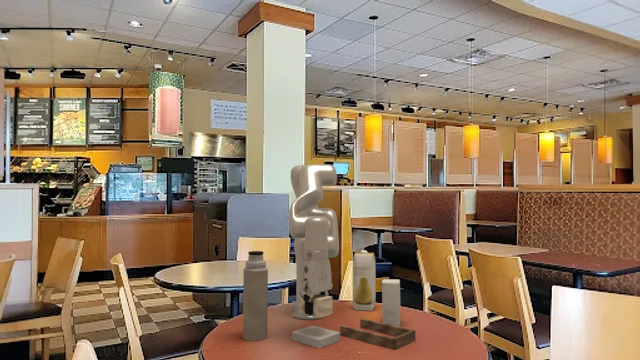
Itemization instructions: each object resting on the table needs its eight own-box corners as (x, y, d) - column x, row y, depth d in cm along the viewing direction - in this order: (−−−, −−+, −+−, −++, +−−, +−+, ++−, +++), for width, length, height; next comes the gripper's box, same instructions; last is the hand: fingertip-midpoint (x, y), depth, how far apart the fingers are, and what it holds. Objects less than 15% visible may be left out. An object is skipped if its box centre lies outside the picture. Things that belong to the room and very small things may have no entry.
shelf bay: (340, 335, 148) (340, 325, 148) (362, 326, 157) (362, 318, 157) (394, 349, 134) (394, 339, 134) (415, 339, 143) (415, 330, 143)
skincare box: (400, 327, 156) (400, 283, 157) (381, 326, 157) (381, 282, 158) (400, 321, 164) (400, 278, 165) (382, 320, 166) (382, 278, 166)
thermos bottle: (250, 332, 150) (250, 249, 151) (271, 334, 148) (272, 250, 149) (238, 339, 143) (239, 252, 144) (260, 342, 140) (261, 253, 141)
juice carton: (352, 310, 179) (352, 251, 180) (353, 305, 187) (353, 248, 188) (375, 311, 178) (375, 251, 179) (376, 306, 186) (375, 249, 186)
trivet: (291, 339, 143) (291, 331, 143) (312, 332, 150) (312, 325, 150) (319, 348, 135) (319, 340, 135) (340, 340, 142) (340, 332, 142)
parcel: (299, 312, 143) (299, 295, 143) (311, 309, 148) (312, 292, 148) (320, 317, 137) (320, 299, 137) (332, 314, 142) (332, 296, 142)
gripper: (306, 259, 134) (306, 319, 133) (342, 254, 147) (342, 309, 146) (289, 257, 139) (288, 315, 138) (325, 252, 152) (324, 305, 151)
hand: (316, 311), depth 142 cm, fingers closed on parcel, 6 cm apart
